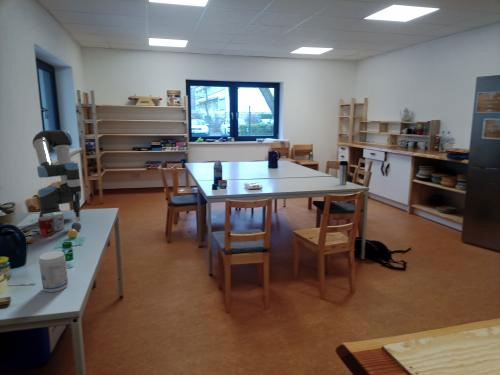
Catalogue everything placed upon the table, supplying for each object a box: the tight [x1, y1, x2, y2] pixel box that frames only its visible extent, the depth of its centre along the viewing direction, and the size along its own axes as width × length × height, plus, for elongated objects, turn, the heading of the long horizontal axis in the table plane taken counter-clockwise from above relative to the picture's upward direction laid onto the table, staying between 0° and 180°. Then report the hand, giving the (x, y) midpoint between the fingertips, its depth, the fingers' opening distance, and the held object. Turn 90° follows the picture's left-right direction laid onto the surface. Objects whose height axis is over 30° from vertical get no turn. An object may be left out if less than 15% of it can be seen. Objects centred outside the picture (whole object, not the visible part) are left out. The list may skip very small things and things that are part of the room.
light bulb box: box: [43, 211, 65, 232], centre depth 227 cm, size 11×7×11 cm, turn 131°
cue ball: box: [71, 221, 82, 232], centre depth 225 cm, size 6×6×6 cm
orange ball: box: [66, 228, 78, 239], centre depth 212 cm, size 6×6×6 cm
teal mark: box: [54, 236, 86, 249], centre depth 205 cm, size 14×14×1 cm
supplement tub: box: [38, 250, 69, 293], centre depth 150 cm, size 10×10×15 cm
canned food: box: [37, 216, 56, 238], centre depth 218 cm, size 8×8×11 cm
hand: (78, 221), depth 233 cm, fingers closed
